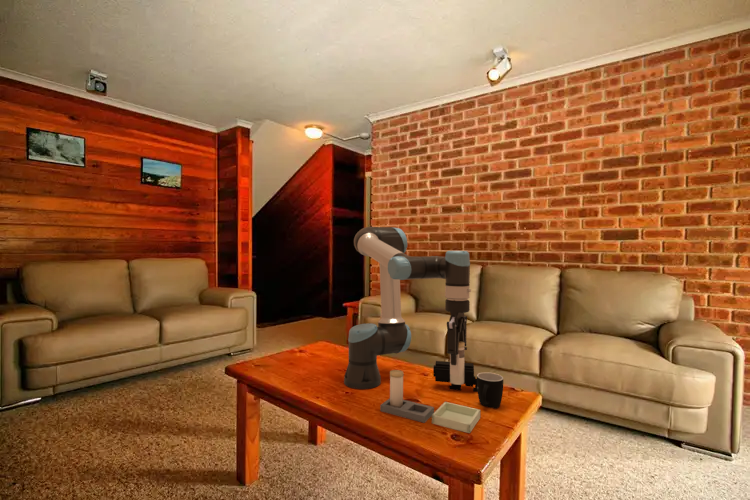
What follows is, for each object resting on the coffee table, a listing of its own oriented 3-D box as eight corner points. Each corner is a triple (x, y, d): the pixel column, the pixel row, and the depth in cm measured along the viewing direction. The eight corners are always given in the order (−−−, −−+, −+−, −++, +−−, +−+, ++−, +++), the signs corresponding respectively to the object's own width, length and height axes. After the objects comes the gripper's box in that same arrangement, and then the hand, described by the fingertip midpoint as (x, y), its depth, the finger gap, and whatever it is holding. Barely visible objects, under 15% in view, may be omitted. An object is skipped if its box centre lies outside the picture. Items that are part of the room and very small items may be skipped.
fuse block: (380, 412, 122) (380, 373, 122) (391, 403, 129) (391, 366, 129) (424, 424, 114) (424, 382, 114) (434, 414, 121) (434, 375, 121)
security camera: (482, 394, 138) (482, 368, 138) (433, 390, 141) (433, 364, 141) (480, 387, 145) (480, 362, 145) (433, 384, 148) (434, 359, 148)
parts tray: (431, 424, 113) (431, 415, 113) (444, 410, 124) (445, 401, 124) (469, 435, 107) (469, 424, 107) (480, 419, 118) (480, 409, 118)
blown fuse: (447, 383, 115) (447, 343, 115) (452, 378, 119) (452, 340, 119) (461, 385, 112) (462, 345, 112) (466, 381, 116) (466, 342, 116)
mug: (480, 397, 135) (481, 370, 135) (506, 403, 130) (506, 375, 130) (470, 409, 124) (470, 380, 124) (497, 416, 120) (497, 385, 120)
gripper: (460, 303, 106) (460, 383, 106) (476, 296, 121) (476, 366, 121) (436, 301, 110) (435, 378, 110) (454, 295, 125) (454, 363, 125)
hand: (457, 372), depth 115 cm, fingers closed on blown fuse, 4 cm apart
